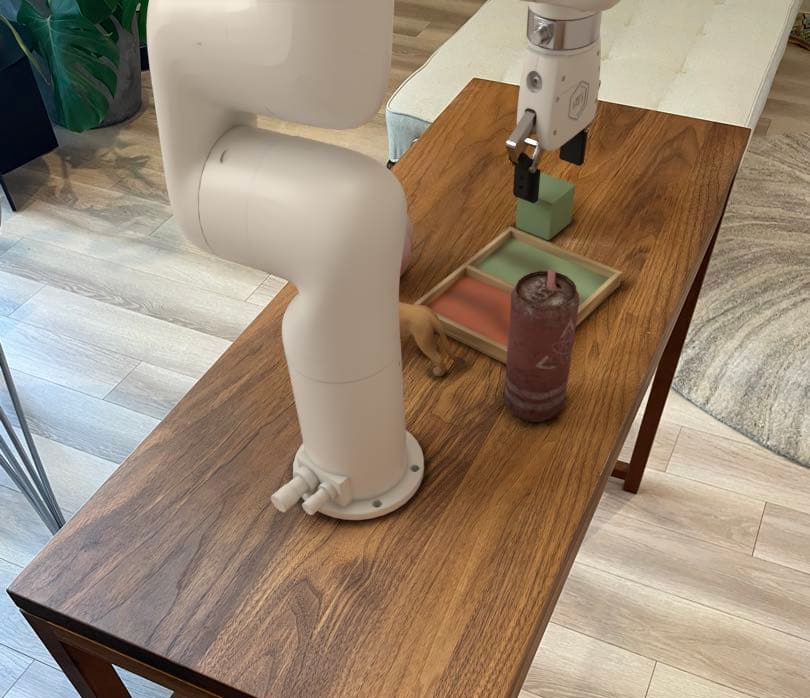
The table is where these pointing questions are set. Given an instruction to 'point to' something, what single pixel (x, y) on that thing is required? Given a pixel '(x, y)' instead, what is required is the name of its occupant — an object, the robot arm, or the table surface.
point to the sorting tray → (509, 288)
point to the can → (540, 344)
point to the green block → (547, 208)
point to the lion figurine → (426, 333)
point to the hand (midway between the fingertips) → (548, 179)
